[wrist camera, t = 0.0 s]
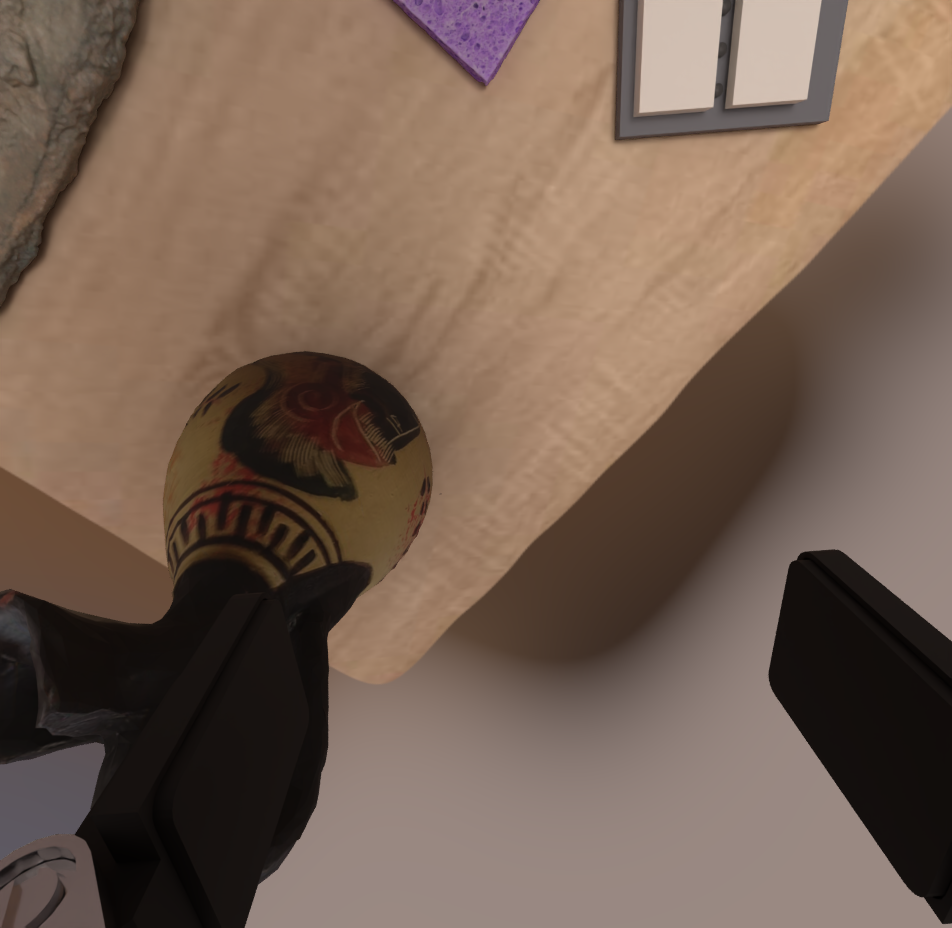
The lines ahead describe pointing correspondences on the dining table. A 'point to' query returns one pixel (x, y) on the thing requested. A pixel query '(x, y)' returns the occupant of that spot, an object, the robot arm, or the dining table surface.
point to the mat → (718, 116)
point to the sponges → (472, 29)
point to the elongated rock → (49, 107)
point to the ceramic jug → (235, 561)
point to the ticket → (677, 55)
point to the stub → (771, 52)
